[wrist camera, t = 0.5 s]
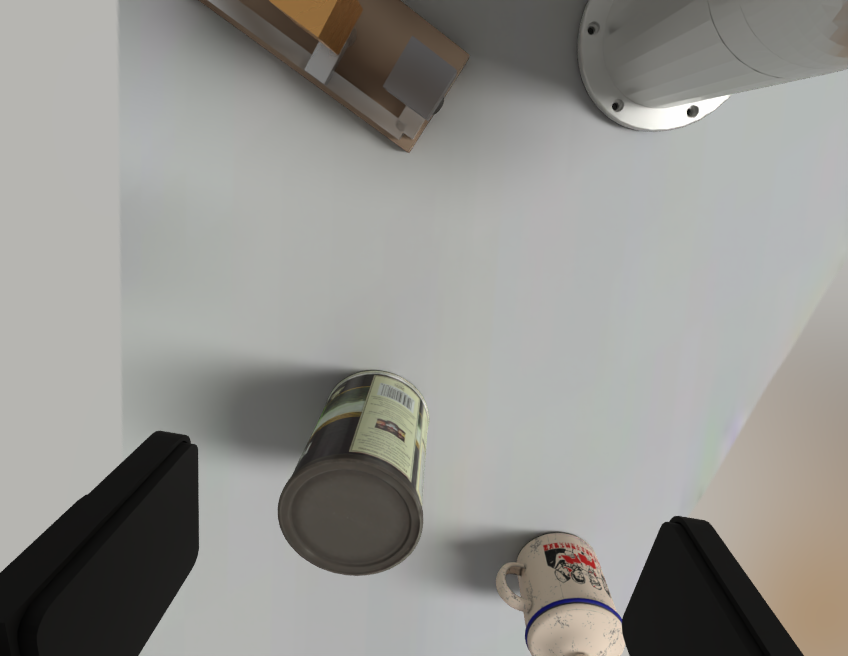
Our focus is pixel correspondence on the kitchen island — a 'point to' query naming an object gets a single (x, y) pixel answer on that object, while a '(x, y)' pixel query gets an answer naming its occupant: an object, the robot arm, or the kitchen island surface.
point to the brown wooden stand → (366, 61)
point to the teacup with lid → (563, 599)
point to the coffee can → (360, 478)
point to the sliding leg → (324, 30)
